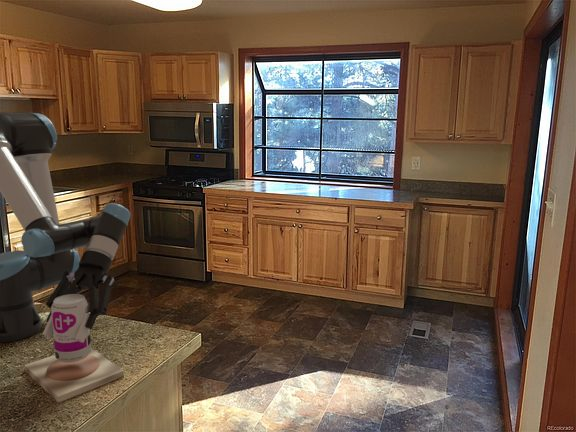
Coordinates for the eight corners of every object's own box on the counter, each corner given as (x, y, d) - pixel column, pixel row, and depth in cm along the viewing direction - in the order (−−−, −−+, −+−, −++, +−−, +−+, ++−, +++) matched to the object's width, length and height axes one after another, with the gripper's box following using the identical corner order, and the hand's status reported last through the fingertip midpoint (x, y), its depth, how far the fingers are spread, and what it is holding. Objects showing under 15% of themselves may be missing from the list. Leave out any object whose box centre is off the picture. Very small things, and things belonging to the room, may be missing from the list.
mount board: (24, 370, 121) (24, 362, 121) (86, 349, 133) (86, 342, 133) (58, 402, 108) (57, 394, 108) (123, 376, 120) (123, 368, 119)
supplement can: (78, 365, 115) (73, 306, 112) (47, 361, 116) (42, 303, 113) (97, 350, 123) (94, 294, 120) (69, 346, 124) (65, 291, 121)
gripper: (140, 266, 128) (109, 348, 116) (70, 259, 133) (33, 339, 120) (128, 252, 122) (94, 338, 110) (56, 246, 126) (15, 328, 114)
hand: (62, 338), depth 115 cm, fingers closed on supplement can, 8 cm apart
